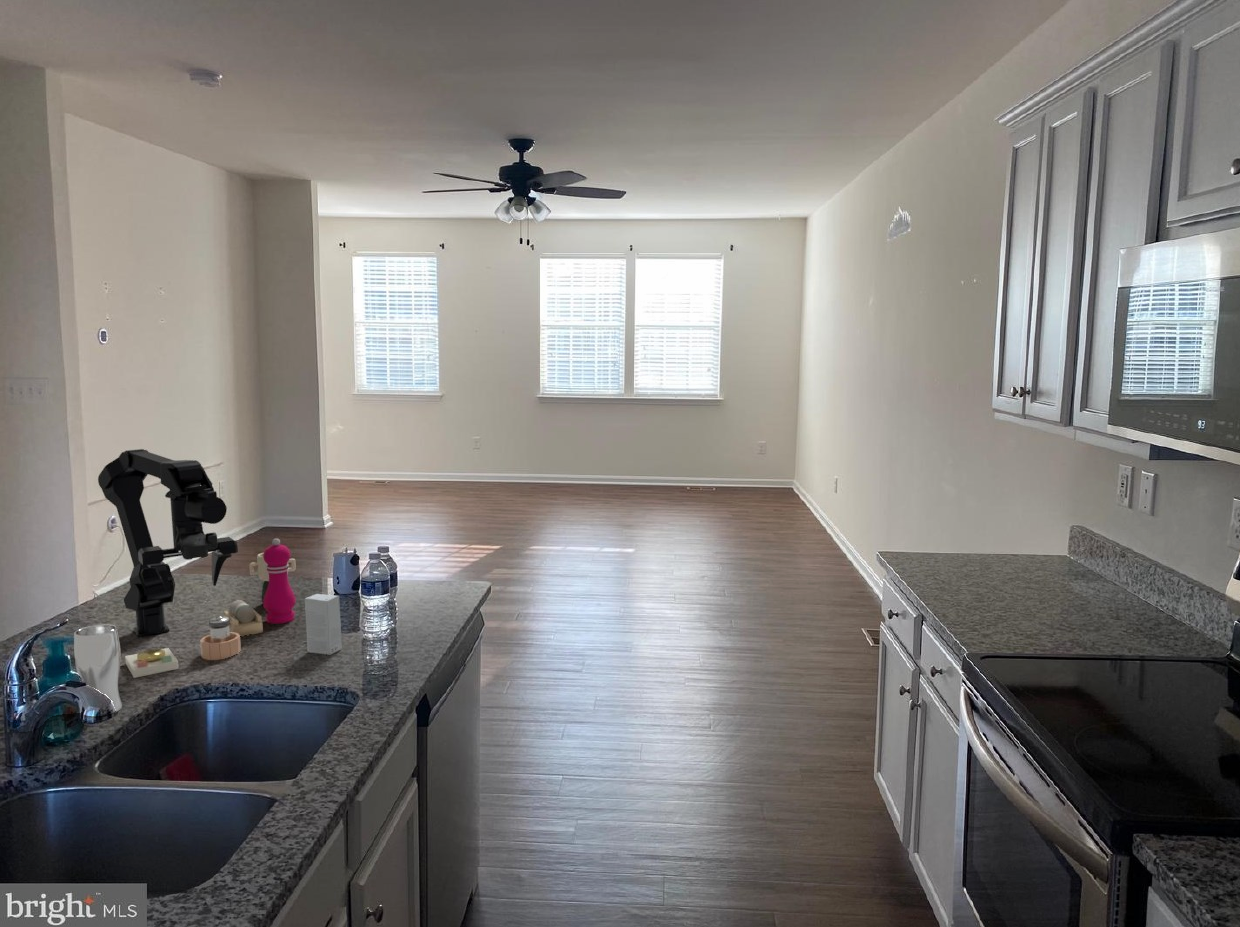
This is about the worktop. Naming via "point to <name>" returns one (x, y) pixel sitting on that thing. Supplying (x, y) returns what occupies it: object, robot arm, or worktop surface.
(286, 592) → the pepper mill
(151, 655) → the gold disc
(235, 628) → the trough rack
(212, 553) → the robot arm
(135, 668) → the white decorated slab
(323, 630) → the skincare box
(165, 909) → the worktop surface
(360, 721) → the worktop surface
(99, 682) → the beer glass
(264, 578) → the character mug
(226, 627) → the glass salt shaker
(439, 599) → the worktop surface
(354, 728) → the worktop surface
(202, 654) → the peach faceted bowl
